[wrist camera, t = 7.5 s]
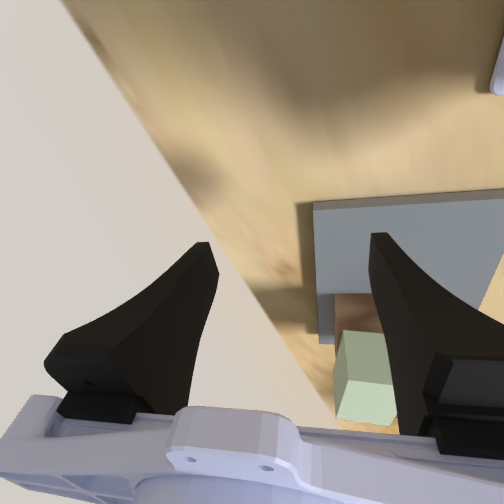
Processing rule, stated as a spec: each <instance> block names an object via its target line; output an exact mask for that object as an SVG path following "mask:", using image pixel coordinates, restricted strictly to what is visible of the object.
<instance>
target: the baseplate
mask: <svg viewBox="0 0 504 504" xmlns="http://www.w3.org/2000/svg"><path fill="white" fill-rule="evenodd" d="M313 224H314V246H315V267H316V289H317V311H318V333H319V344H335V341H334V294H339V293H372V291H371V286H370V279H369V272H368V265H369V252H370V239H371V233H378V232H387V233H388V234H389V235H390V236H391V237H392V238H393V239H394V241H395V242H396V243H397V244H398V245H399V246H400V247H401V249H402V250H403V251H404V252H405V253H406V254H407V255H408V256H409V257H410V258H411V259H412V260H413V261H414V262H415V263H416V264H417V265H418V266H419V267H420V268H421V269H422V270H423V271H424V272H426V273H427V274H428V275H429V276H430V277H431V278H432V279H434V280H435V281H436V282H437V283H438V284H440V285H441V286H442V287H444V288H445V289H446V290H448V291H449V292H450V293H452V294H453V295H455V296H456V297H458V298H459V299H461V300H462V301H464V302H465V303H467V304H469V305H470V306H472V307H473V308H475V309H477V310H478V309H479V307H480V305H481V302H482V300H483V298H484V296H485V293H486V291H487V289H488V287H489V284H490V282H491V280H492V278H493V275H494V273H495V271H496V269H497V266H498V264H499V262H500V260H501V257H502V255H503V253H504V189H496V190H481V191H467V192H452V193H437V194H423V195H408V196H393V197H379V198H364V199H349V200H335V201H320V202H313Z"/></svg>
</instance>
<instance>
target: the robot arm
mask: <svg viewBox="0 0 504 504" xmlns="http://www.w3.org/2000/svg"><path fill="white" fill-rule="evenodd" d="M489 89H490V91H491V92H492V93H493V94H495V95H504V37H503V40H502V44H501V47H500V51H499V55H498V58H497V62H496V65H495V69H494V72H493V76H492V79H491V83H490V88H489ZM368 272H369V279H370V286H371V291H372V295H373V298H374V302H375V305H376V309H377V312H378V316H379V319H380V323H381V326H382V330H383V333H384V337H385V342H386V346H387V352H388V358H389V364H390V370H391V376H392V383H393V389H394V396H395V403H396V410H397V417H398V425H399V432H400V435H395V434H383V433H372V432H360V431H348V430H336V429H324V428H312V427H301V426H295V425H294V423H293V422H292V421H291V420H290V419H288V418H286V417H284V416H282V415H280V414H277V413H272V412H267V411H258V410H245V409H232V408H219V407H206V406H188V400H189V394H190V388H191V382H192V376H193V371H194V366H195V361H196V356H197V351H198V346H199V342H200V338H201V335H202V332H203V329H204V326H205V323H206V320H207V317H208V314H209V311H210V308H211V305H212V302H213V299H214V296H215V293H216V289H217V284H218V278H219V272H218V268H217V266H216V262H215V259H214V256H213V253H212V250H211V247H210V244H209V242H197V243H196V244H194V245H193V247H191V248H190V249H189V250H188V251H187V252H186V253H185V254H184V255H183V256H182V257H181V258H180V259H179V260H178V261H176V262H175V263H174V264H173V265H172V266H171V267H170V268H169V269H168V270H167V271H166V272H165V273H163V274H162V275H161V276H160V277H159V278H158V279H156V280H155V281H154V282H153V283H152V284H151V285H149V286H148V287H147V288H145V289H144V290H143V291H141V292H140V293H139V294H137V295H136V296H134V297H133V298H132V299H130V300H128V301H127V302H125V303H124V304H122V305H120V306H119V307H117V308H116V309H114V310H112V311H110V312H109V313H107V314H105V315H103V316H101V317H99V318H97V319H96V320H94V321H92V322H90V323H88V324H85V325H83V326H81V327H79V328H77V329H74V330H72V331H70V332H68V333H65V334H64V335H63V336H62V337H61V338H60V340H59V341H58V343H57V344H56V345H55V347H54V348H53V349H52V351H51V352H50V353H49V355H48V356H47V357H46V359H45V360H44V367H45V369H46V371H47V372H48V374H49V375H50V376H51V377H52V378H54V379H55V380H56V381H57V382H58V383H59V384H60V385H61V386H62V387H64V388H65V389H66V390H67V391H68V392H67V394H66V396H65V397H64V399H62V398H59V397H55V396H46V395H32V396H31V397H30V398H29V400H28V401H27V403H26V404H25V405H24V407H23V408H22V409H21V411H20V412H19V414H18V415H17V417H16V418H15V419H14V421H13V422H12V424H11V425H10V426H9V428H8V429H7V431H6V432H5V434H4V435H3V436H2V438H1V439H0V477H2V478H4V479H6V480H8V481H10V482H13V483H14V484H17V485H19V486H21V487H23V488H25V489H27V490H32V491H37V492H43V493H49V494H54V495H59V496H64V497H69V498H73V499H77V500H82V501H86V502H91V503H95V504H504V324H502V323H500V322H498V321H496V320H494V319H492V318H491V317H489V316H487V315H485V314H483V313H482V312H480V311H478V310H477V309H475V308H473V307H472V306H470V305H469V304H467V303H465V302H464V301H462V300H461V299H459V298H458V297H456V296H455V295H453V294H452V293H450V292H449V291H448V290H446V289H445V288H444V287H442V286H441V285H440V284H438V283H437V282H436V281H435V280H434V279H432V278H431V277H430V276H429V275H428V274H427V273H426V272H424V271H423V270H422V269H421V268H420V267H419V266H418V265H417V264H416V263H415V262H414V261H413V260H412V259H411V258H410V257H409V256H408V255H407V254H406V253H405V252H404V251H403V250H402V249H401V247H400V246H399V245H398V244H397V243H396V242H395V241H394V239H393V238H392V237H391V236H390V235H389V234H388V233H387V232H378V233H371V239H370V252H369V265H368Z"/></svg>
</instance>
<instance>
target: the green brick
mask: <svg viewBox="0 0 504 504" xmlns="http://www.w3.org/2000/svg"><path fill="white" fill-rule="evenodd" d="M333 380H334V397H335V413H336V419H341V420H348V421H356V422H363V423H370V424H378V425H385V426H390V424H391V423H392V421H393V419H394V418H395V416H396V415H397V410H396V403H395V396H394V389H393V383H392V376H391V370H390V364H389V358H388V352H387V346H386V342H385V337H384V334H380V333H370V332H359V331H349V330H343V333H342V337H341V341H340V345H339V349H338V353H337V357H336V361H335V365H334V369H333Z"/></svg>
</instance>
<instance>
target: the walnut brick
mask: <svg viewBox="0 0 504 504" xmlns="http://www.w3.org/2000/svg"><path fill="white" fill-rule="evenodd" d="M343 330H349V331H359V332H370V333H380V334H384V333H383V330H382V326H381V323H380V319H379V316H378V312H377V309H376V305H375V302H374V298H373V295H372V293H339V294H334V341H335V355H336V357H337V353H338V349H339V345H340V341H341V337H342V333H343Z"/></svg>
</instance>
